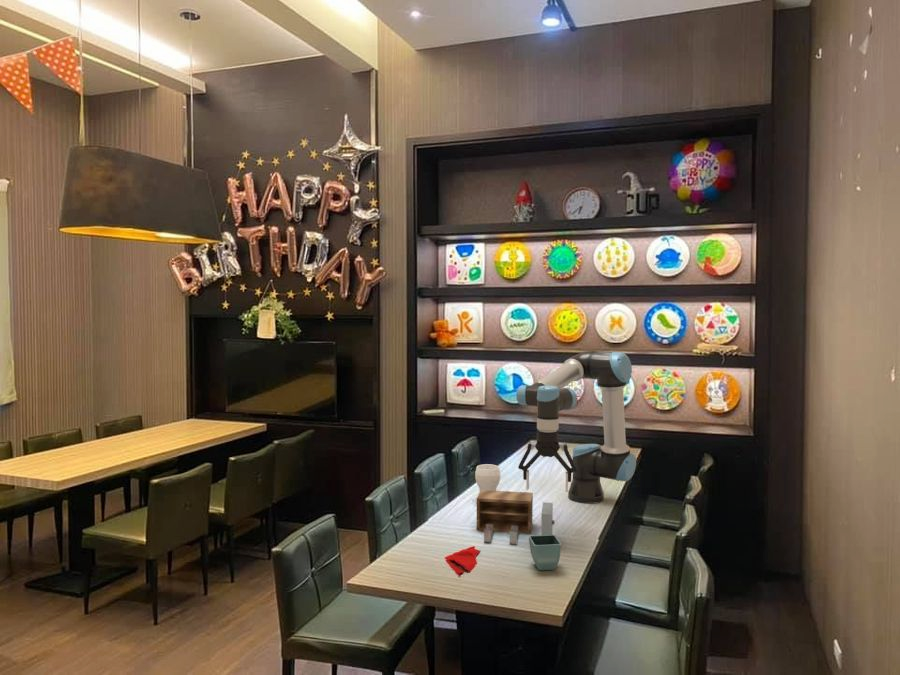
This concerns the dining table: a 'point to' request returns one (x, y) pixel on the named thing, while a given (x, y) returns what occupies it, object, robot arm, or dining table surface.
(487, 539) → the hinge clips
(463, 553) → the cloth
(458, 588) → the dining table surface
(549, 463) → the dining table surface
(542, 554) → the flower pot
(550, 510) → the door
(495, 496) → the cabinet
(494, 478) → the cup
